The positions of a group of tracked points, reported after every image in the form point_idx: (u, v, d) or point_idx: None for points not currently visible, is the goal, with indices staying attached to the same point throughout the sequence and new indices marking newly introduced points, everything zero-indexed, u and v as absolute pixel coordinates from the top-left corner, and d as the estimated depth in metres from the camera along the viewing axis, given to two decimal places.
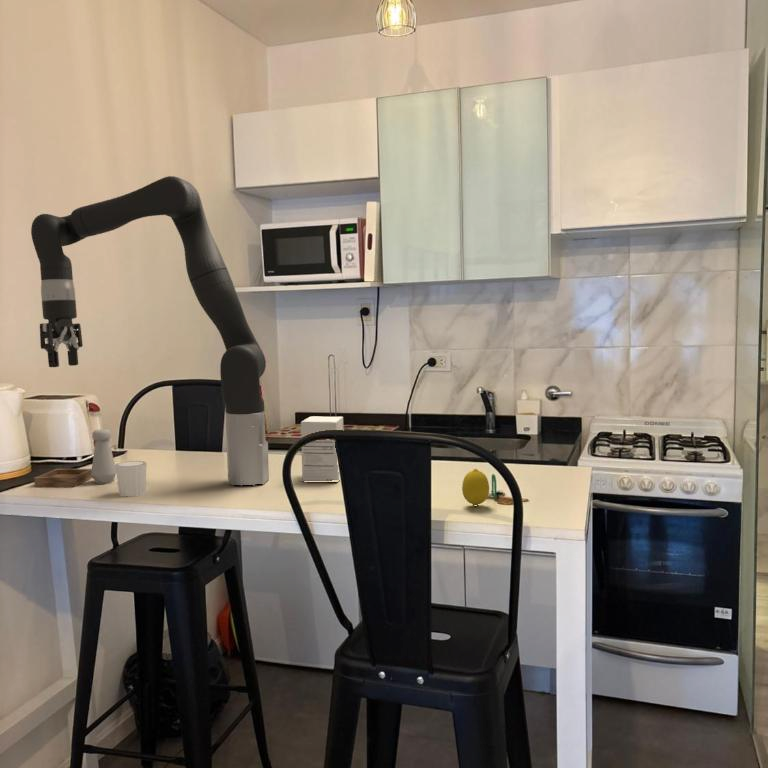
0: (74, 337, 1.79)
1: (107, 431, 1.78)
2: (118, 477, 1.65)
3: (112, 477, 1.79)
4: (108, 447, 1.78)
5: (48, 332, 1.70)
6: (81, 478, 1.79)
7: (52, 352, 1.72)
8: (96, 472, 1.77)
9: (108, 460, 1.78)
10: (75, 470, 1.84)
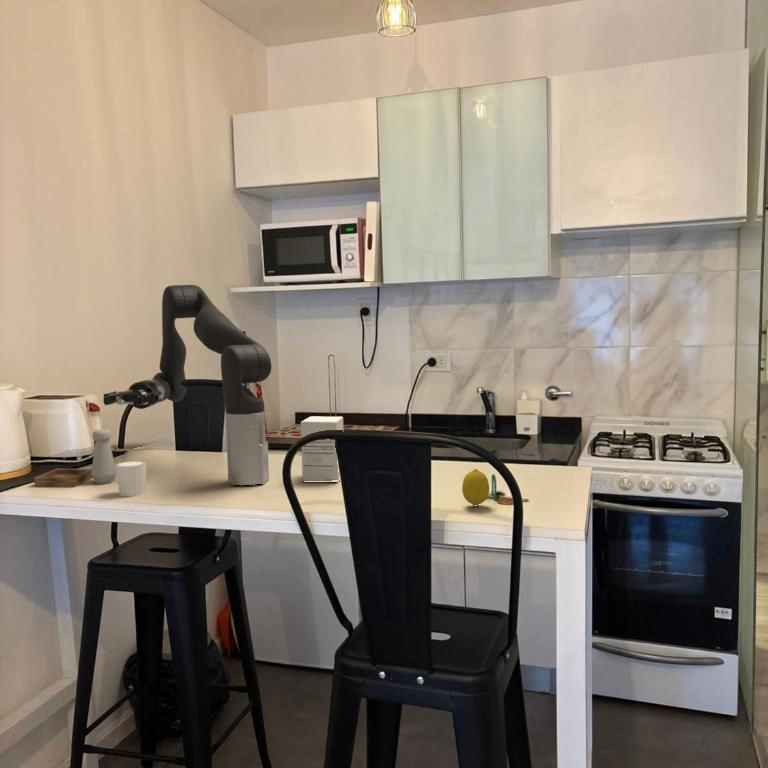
0: (142, 391, 1.96)
1: (107, 431, 1.78)
2: (118, 477, 1.65)
3: (112, 477, 1.79)
4: (108, 447, 1.78)
5: None
6: (81, 478, 1.79)
7: None
8: (96, 472, 1.77)
9: (108, 460, 1.78)
10: (75, 470, 1.84)
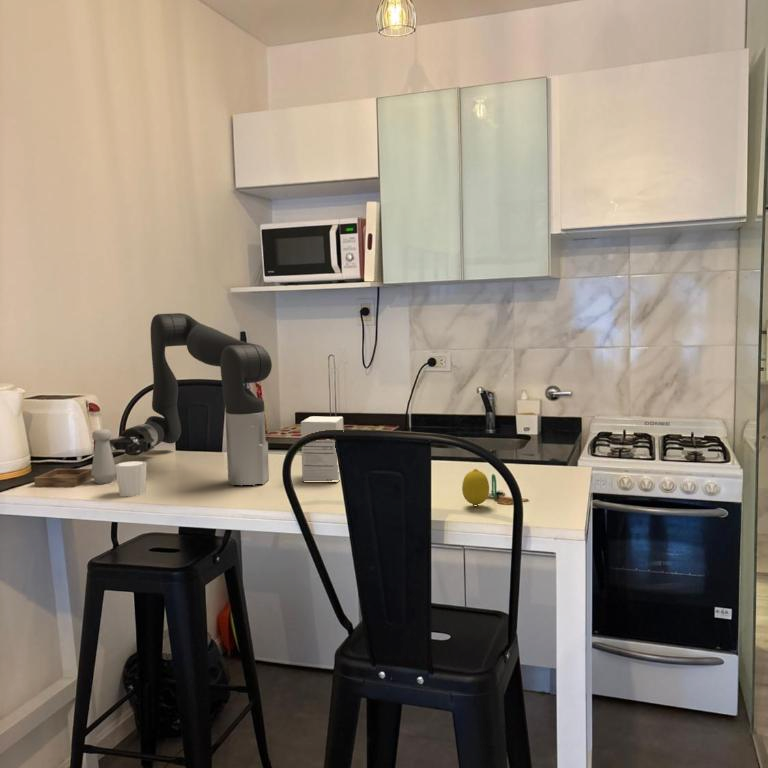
0: (133, 438, 1.90)
1: (107, 431, 1.78)
2: (118, 477, 1.65)
3: (112, 477, 1.79)
4: (108, 447, 1.78)
5: None
6: (81, 478, 1.79)
7: None
8: (96, 472, 1.77)
9: (108, 460, 1.78)
10: (75, 470, 1.84)
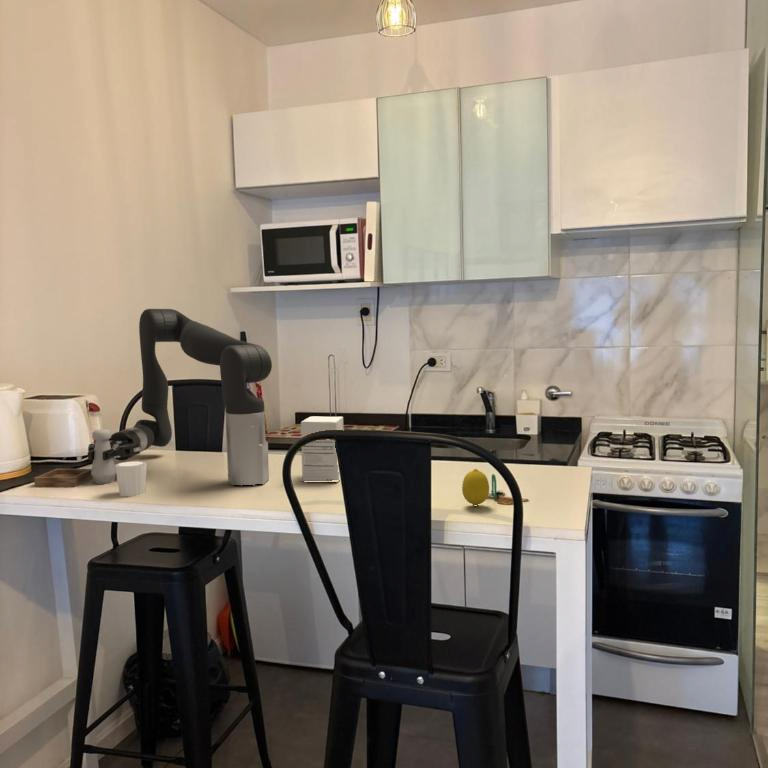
0: (116, 443, 1.83)
1: (107, 431, 1.78)
2: (118, 477, 1.65)
3: (112, 477, 1.79)
4: (108, 447, 1.78)
5: (88, 446, 1.84)
6: (81, 478, 1.79)
7: None
8: (96, 472, 1.77)
9: (108, 460, 1.78)
10: (75, 470, 1.84)
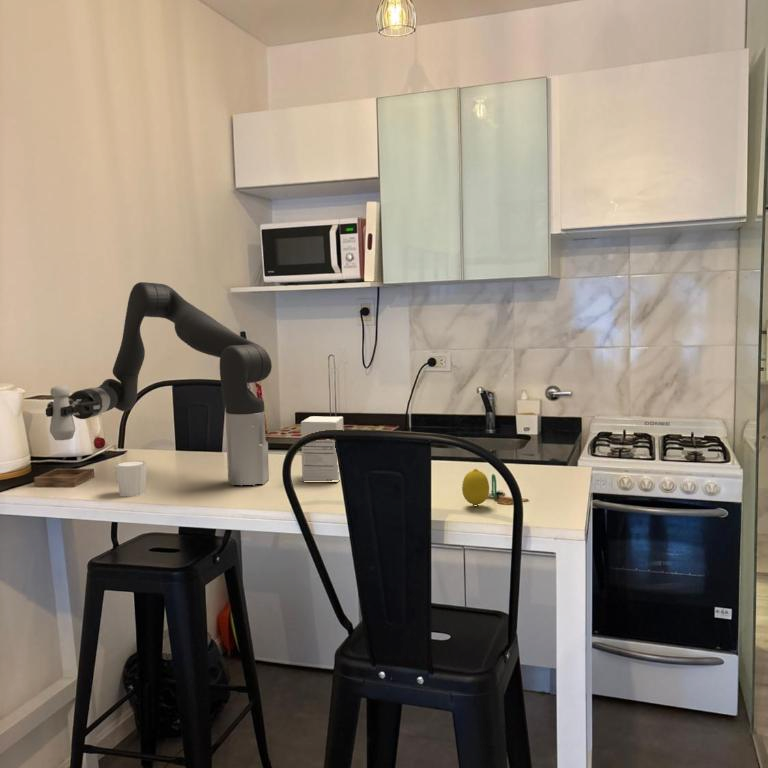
0: (76, 401, 1.83)
1: (65, 388, 1.78)
2: (118, 477, 1.65)
3: (71, 434, 1.79)
4: (66, 404, 1.78)
5: (48, 404, 1.84)
6: (81, 478, 1.79)
7: None
8: (54, 428, 1.77)
9: (66, 416, 1.78)
10: (75, 470, 1.84)
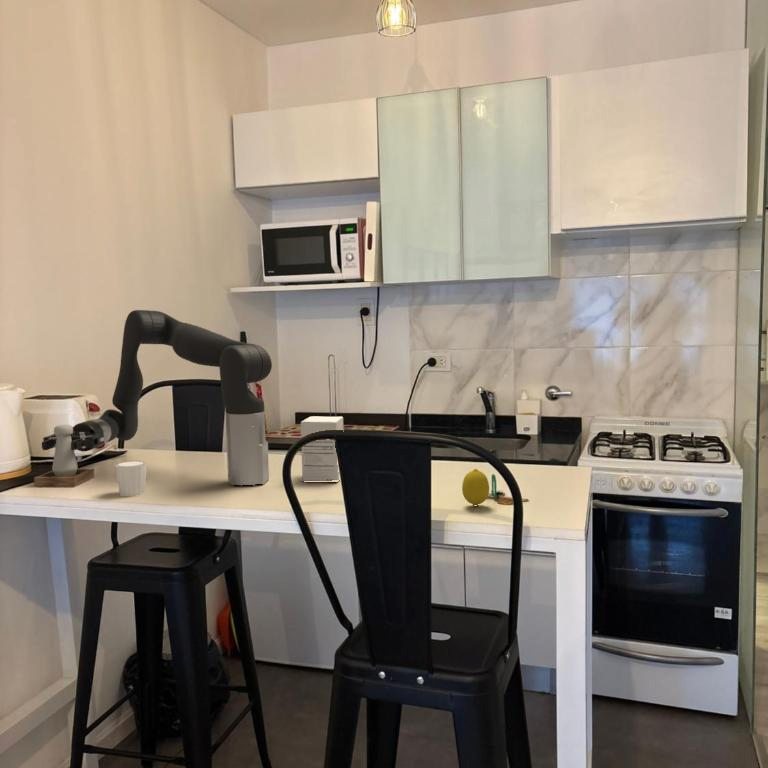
0: (81, 434, 1.84)
1: (69, 426, 1.79)
2: (118, 477, 1.65)
3: (73, 472, 1.80)
4: (69, 442, 1.79)
5: None
6: (81, 478, 1.79)
7: None
8: (56, 467, 1.78)
9: (69, 455, 1.79)
10: None
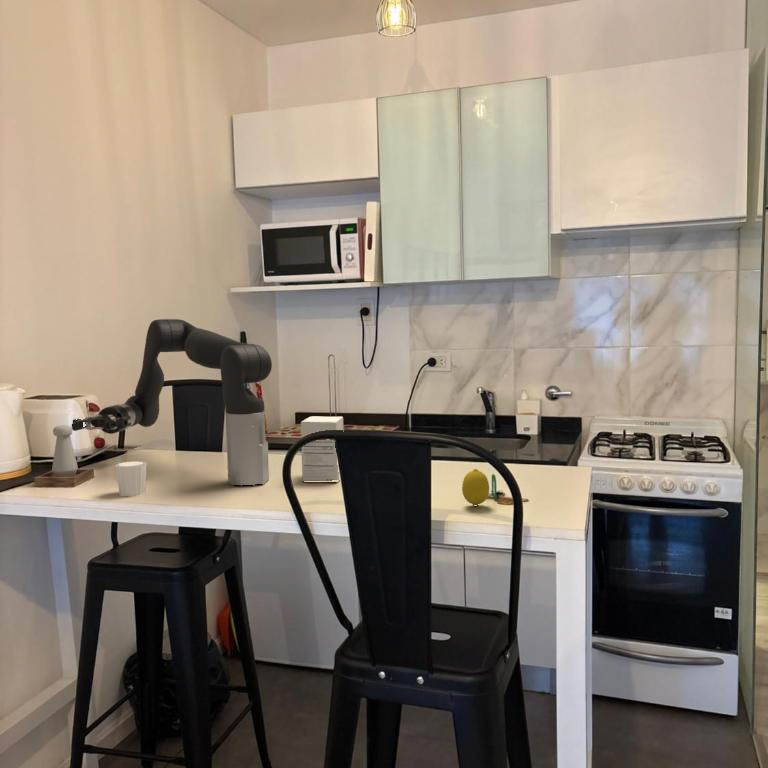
0: (111, 416, 1.97)
1: (68, 427, 1.79)
2: (118, 477, 1.65)
3: (73, 473, 1.80)
4: (69, 443, 1.79)
5: None
6: (81, 478, 1.79)
7: None
8: (56, 468, 1.78)
9: (68, 456, 1.78)
10: None
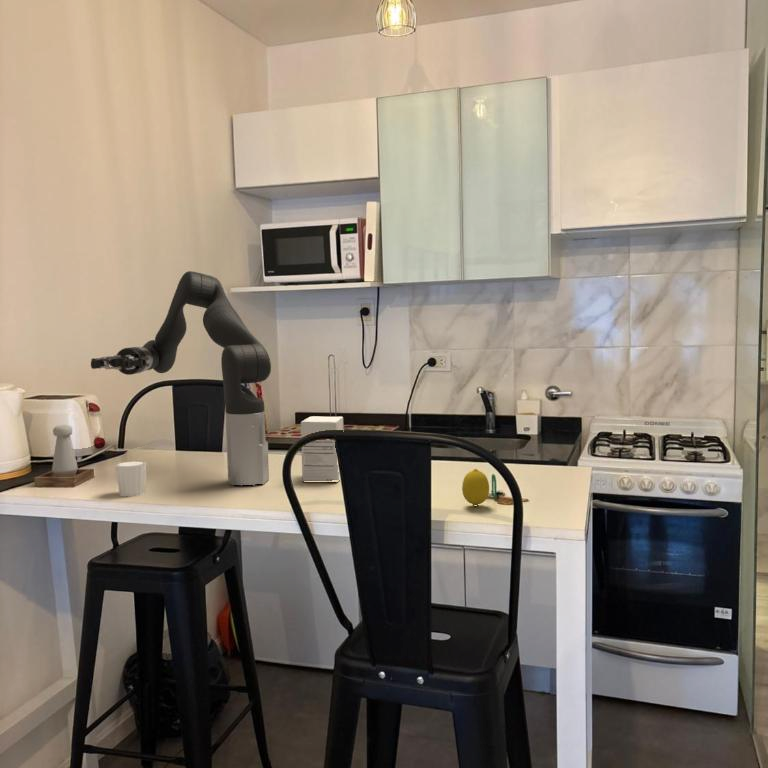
0: (129, 356, 1.98)
1: (68, 427, 1.79)
2: (118, 477, 1.65)
3: (73, 473, 1.80)
4: (69, 443, 1.79)
5: None
6: (81, 478, 1.79)
7: None
8: (56, 468, 1.78)
9: (68, 456, 1.78)
10: None
